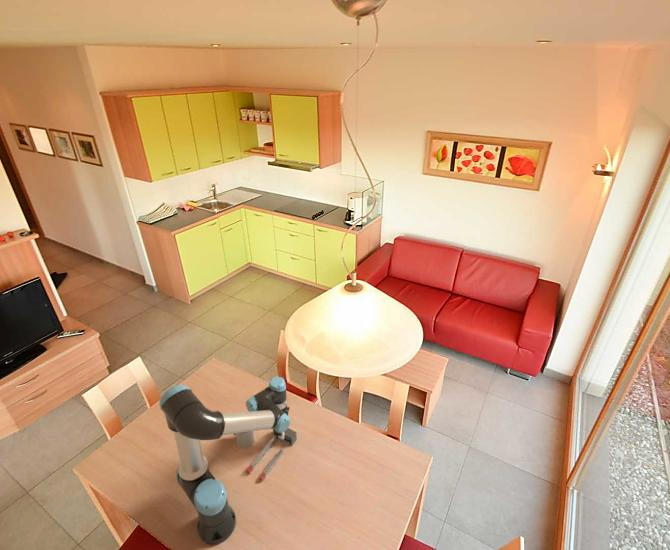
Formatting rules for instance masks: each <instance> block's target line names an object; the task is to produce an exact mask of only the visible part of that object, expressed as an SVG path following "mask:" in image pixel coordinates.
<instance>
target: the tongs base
mask: <svg viewBox="0 0 670 550" xmlns="http://www.w3.org/2000/svg"><path fill="white" fill-rule="evenodd" d="M277 441H280V442H281V443H283V444H285V445H287V446H289V447H290V446H291V441H290V440H288V439H286V438H284V439H283V440H282V439H280V438H279V436H278V434H275V435H274V434H273V437H272V438H271V439H270V440H269V441H268V443H267V444H266V445H265V446H264V447H263V449H262V450H261V451H260V452H259V454H258V455H257V456H256V457H255V459H254V460H253V461H252V463H250V465H249V466H248V467H247V468H246V473H247V475H251V474H252V472H253V471H254V469H255V468H256V467H257V465H259V463H260V462H261V461H262V459H263V458H264V457H265V456H266V454H267V453H268V452H269V451H270V449H271V448H272V447H273V446H274V445H275V443H276V442H277Z"/></svg>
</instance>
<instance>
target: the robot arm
mask: <svg viewBox="0 0 670 550" xmlns="http://www.w3.org/2000/svg"><path fill="white" fill-rule="evenodd" d="M287 401H288V400H287V385H286V381H285V379H284V378H283V377H281V376H274V377H272V378H270V380H269V382H268V386H267V387H265V388H264V389H262V390H261V391H259V392H257V393H256V394H254V395H252V396H251V397H249V398H248V399H247V400H246V402H245V406H246V409H247V411H240V412H239V411H237V412H227V413H226V412H225V413H223V412H221V411H219V410H210V409H208V408H207V407H206V406H205V404H203V403H202V401H201V400H200V399H199V398H198V397H197V395H195V393H194V392H193V390H192V389H191V388H190V387H189V386H187V385H184V384H177V385H175V386H172V387H171V388H169V389H168V390H166V391H165V392H164V394H163V395H161V397H160V400H159V404H158V405H159V407H160V410H161V411H162V413H164V416H165V421H166V424H167V427H168V429H169V430H170V431H171V432H173V435H174V440H175V445H176V448H177V454H178V458H179V462H180V464H179V466H178V468H177V469H176V471H175V479H176V481H177V483H178V485H179V486H180V488H182V490H183V491H184V494H186V496H187V498H188V499H189V501H190V502H191V503H192V505H193V507H194V508H195V510H196V512H197V514H198V517H199V520H198V523H197V530H198V531H197V532H198V535H199V538H200V539H201V541H202V542H204V543H205V544H208V545H211V546H212V545H219V544H221V543H223V542H225V541H226V540H228V539H229V538H230V536H231V535H232V533H233V532H234V531H235V528H236V524H237V517H236V513H235V511H234V509H233V508H232V507H231V506H230V505H229V501H228V494H227V490H226V487H225V485H224V484H223V483H222V482H221V480H219V479H217V478H215V476H214V475H213V473H212V472H211V471H210V466H209V463H208V459H207V457H206V456H204V455H203V451H202V450H203V449H202V443H201V441H212V440H220V438H221V437H223V436H228V435H233V434H236V433H243V432H250V431H253V432H256V431H257V432H258V431H265V430H271V429H272V431H273V430H274V432H276V433H277V434H278V436H279V438H280V439H282V440H283V439H284V438H285V435H284V431H286V430H287V429H288V428H289V427H290V425H291V421H292V420H291V418H290V416H289V411H290V407H289V406H288V403H287Z"/></svg>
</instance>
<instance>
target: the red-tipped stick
mask: <svg viewBox="0 0 670 550" xmlns="http://www.w3.org/2000/svg"><path fill="white" fill-rule="evenodd" d="M283 455H284V449H282V448H280V449H279V450H278V451H277V453H276V454H275V456H273V458H272V459H271V461H270V462H269V464H268V465H267V466H266V468H265V469H264V470H263V472H261V474H260V475H259V477H258V478H259V479H258V480H259V482H263V481H264V480H265V478H266V477H267V476H268V475H269V474H270V472H271V470H272V469H273V468H274V466H276V464H277V463H278V461H279V460H280V459H281V457H282V456H283Z"/></svg>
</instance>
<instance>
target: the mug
mask: <svg viewBox="0 0 670 550" xmlns="http://www.w3.org/2000/svg"><path fill="white" fill-rule="evenodd" d="M232 435H234V436H236V443H237V445H238V448H240V449H241V448H242V449H248V448H250V447H252V446H253V444H254V443H255V435H254V431H250V432H243V433H236V434H232Z"/></svg>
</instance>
